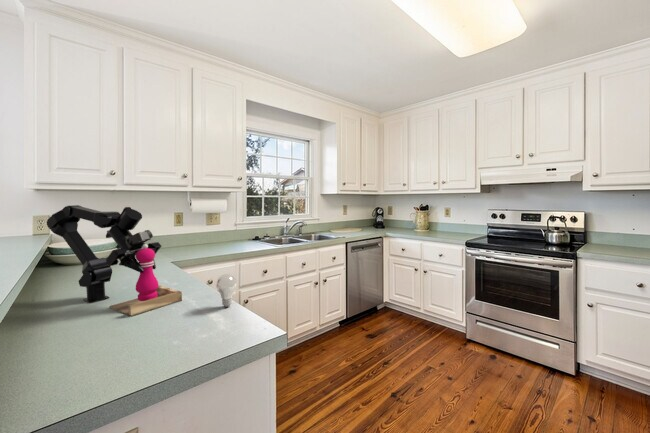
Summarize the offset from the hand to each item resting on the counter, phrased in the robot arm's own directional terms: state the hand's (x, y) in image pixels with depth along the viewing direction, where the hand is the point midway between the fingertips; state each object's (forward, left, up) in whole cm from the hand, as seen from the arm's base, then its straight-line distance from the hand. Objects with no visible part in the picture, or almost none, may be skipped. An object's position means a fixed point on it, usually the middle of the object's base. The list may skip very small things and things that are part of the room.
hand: (149, 270), depth 110 cm
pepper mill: (-1, 0, -11) cm, 11 cm away
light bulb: (+24, +14, -13) cm, 31 cm away
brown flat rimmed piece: (-4, 0, -13) cm, 14 cm away
